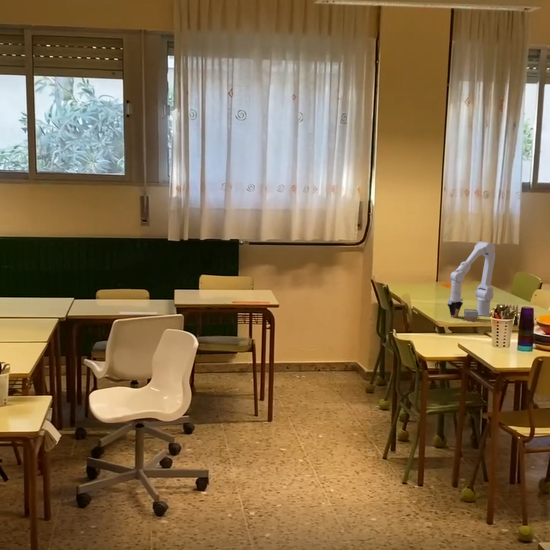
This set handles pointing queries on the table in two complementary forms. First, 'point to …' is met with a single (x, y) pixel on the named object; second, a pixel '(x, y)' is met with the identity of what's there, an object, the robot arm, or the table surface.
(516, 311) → the ammunition clip
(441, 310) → the table surface
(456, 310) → the pink cylinder
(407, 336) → the table surface
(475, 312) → the tower top
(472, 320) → the tower base
